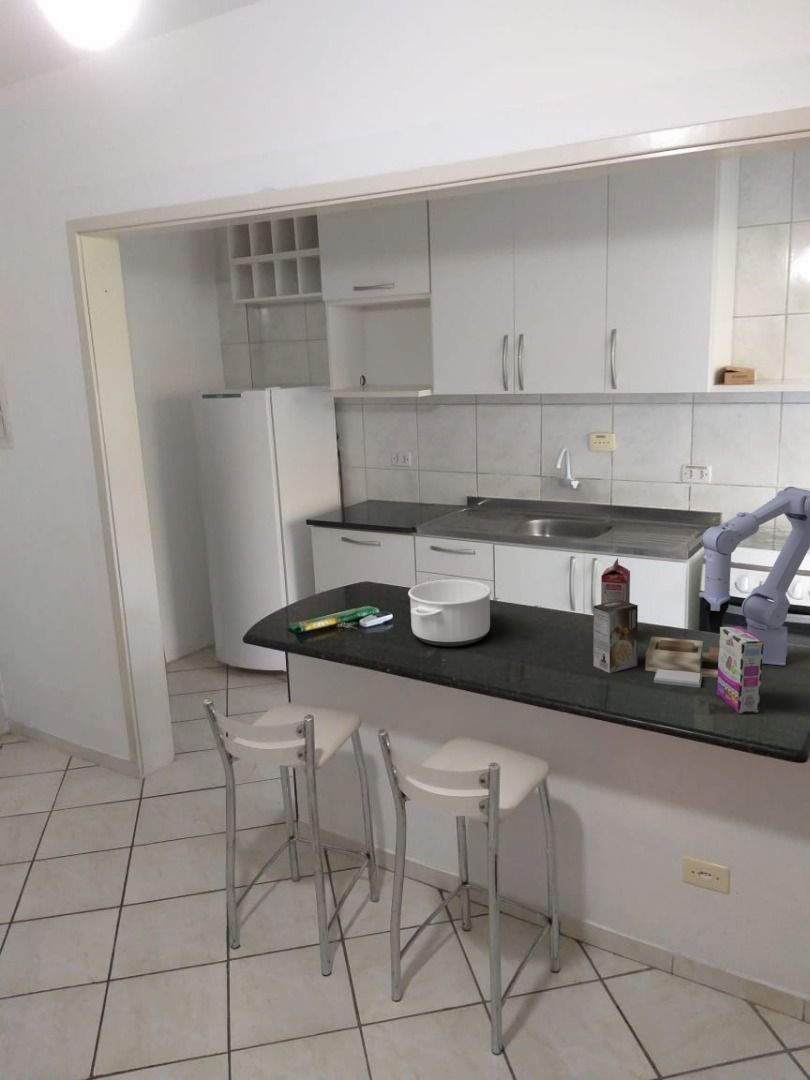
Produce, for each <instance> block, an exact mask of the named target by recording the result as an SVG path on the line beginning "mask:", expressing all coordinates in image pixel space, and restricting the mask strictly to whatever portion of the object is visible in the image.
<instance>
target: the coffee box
mask: <svg viewBox="0 0 810 1080" xmlns="http://www.w3.org/2000/svg"><path fill="white" fill-rule="evenodd" d="M592 608H593V667H595V668H597V669H600V670H602V671H604V672H606V673H608V674H612V673H615V672H620V671H624V670H627V669H631V668H634V667H637V666H638V631H639V630H638V629H639V628H638V627H639V626H638V623H639V622H638V621H639V619H638V618H639V617H638V615H639V612H638V609H639V606H638V605H637V604H635V603H631V602H630V603H629V602H626V601H623V600H618V601H613V602H609V603H604V604H601V603H600V604H596V605H593V607H592Z"/></svg>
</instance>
